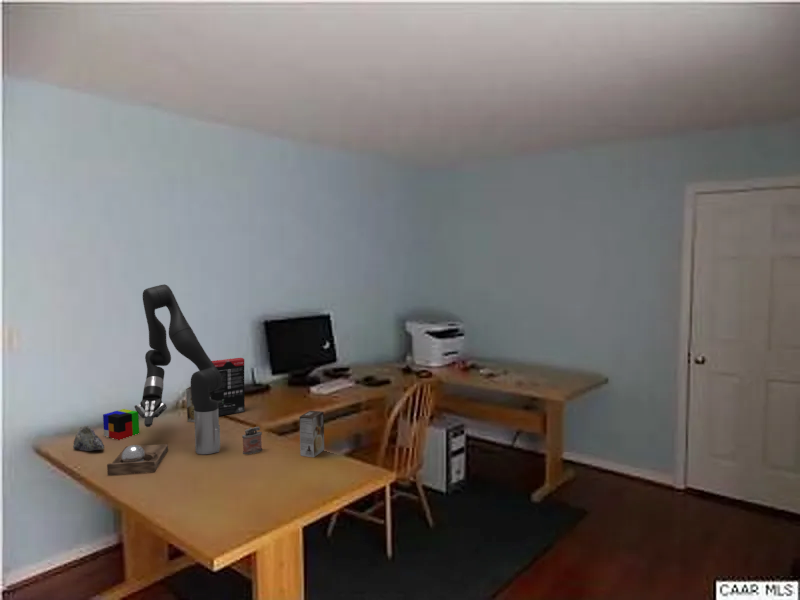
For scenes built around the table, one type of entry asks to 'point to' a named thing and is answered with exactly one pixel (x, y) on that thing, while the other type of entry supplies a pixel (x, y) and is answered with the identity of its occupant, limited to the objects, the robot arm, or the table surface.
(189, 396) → the coffee box
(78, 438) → the mineral rock
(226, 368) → the graphics card box
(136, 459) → the steel ball
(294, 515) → the table surface
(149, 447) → the wooden ball holder
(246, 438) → the lighter
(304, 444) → the coffee box
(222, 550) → the table surface
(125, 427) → the puzzle toy
